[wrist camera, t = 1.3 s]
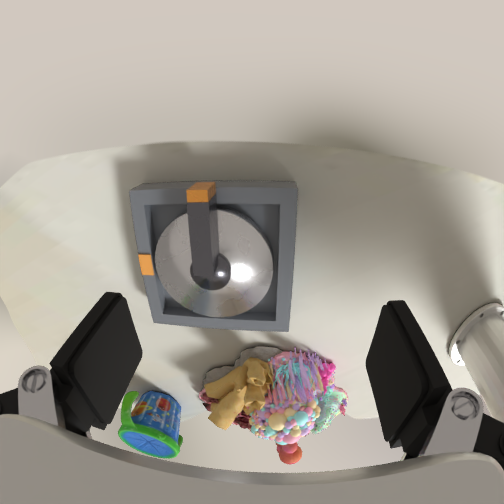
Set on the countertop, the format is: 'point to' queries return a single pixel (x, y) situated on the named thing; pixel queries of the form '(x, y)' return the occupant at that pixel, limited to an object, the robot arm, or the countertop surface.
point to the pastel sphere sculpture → (274, 396)
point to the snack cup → (151, 424)
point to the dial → (214, 257)
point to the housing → (245, 201)
